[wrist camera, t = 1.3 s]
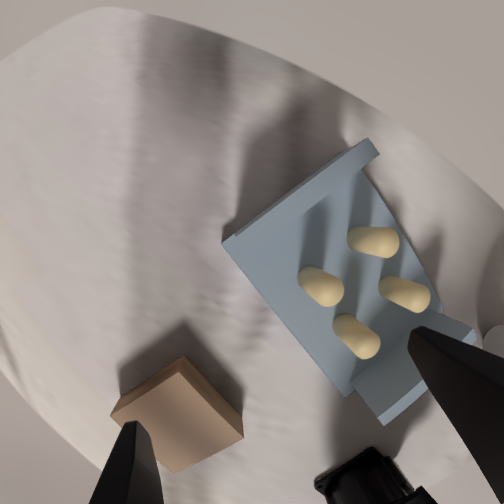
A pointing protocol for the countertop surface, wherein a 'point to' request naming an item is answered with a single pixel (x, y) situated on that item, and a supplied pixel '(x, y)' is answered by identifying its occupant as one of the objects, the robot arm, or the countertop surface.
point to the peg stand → (345, 282)
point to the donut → (495, 340)
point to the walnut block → (181, 415)
